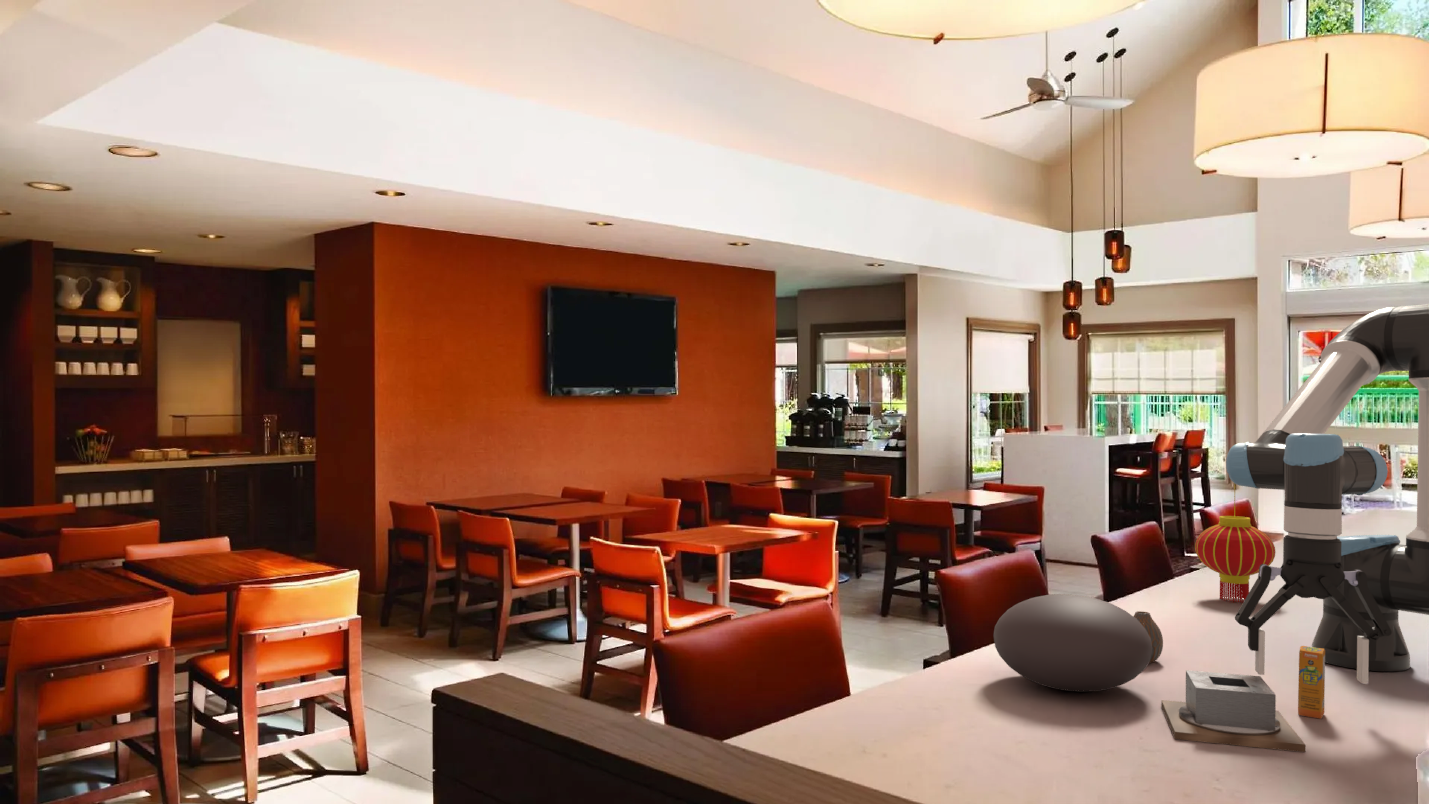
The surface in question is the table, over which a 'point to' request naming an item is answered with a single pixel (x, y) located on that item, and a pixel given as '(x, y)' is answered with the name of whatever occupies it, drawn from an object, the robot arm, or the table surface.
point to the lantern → (1234, 553)
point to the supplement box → (1311, 682)
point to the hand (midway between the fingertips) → (1310, 677)
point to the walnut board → (1186, 731)
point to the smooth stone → (1072, 642)
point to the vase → (1151, 633)
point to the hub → (1229, 703)
